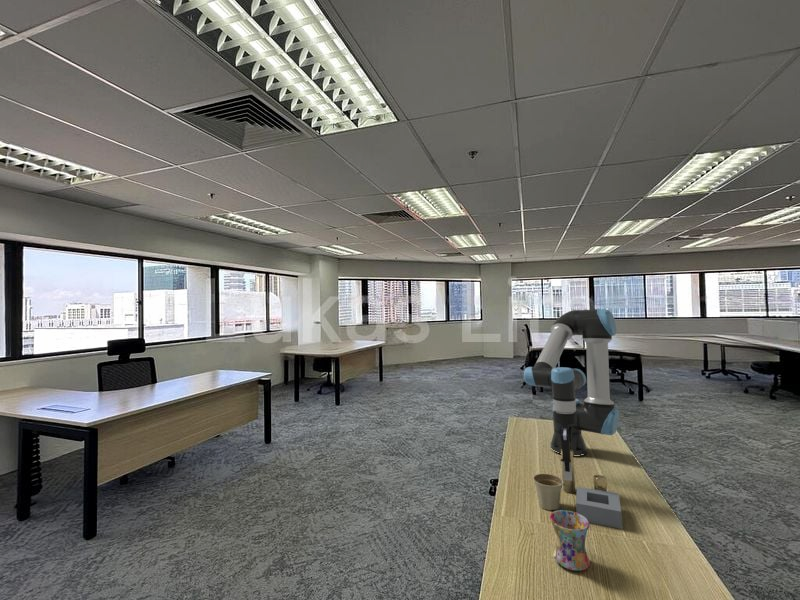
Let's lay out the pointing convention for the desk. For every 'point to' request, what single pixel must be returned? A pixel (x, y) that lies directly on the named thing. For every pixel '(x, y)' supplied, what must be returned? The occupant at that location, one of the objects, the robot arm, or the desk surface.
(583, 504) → the slate block
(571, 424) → the robot arm
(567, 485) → the long pin
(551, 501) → the flower pot
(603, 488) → the short pin
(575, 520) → the mug
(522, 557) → the desk surface
